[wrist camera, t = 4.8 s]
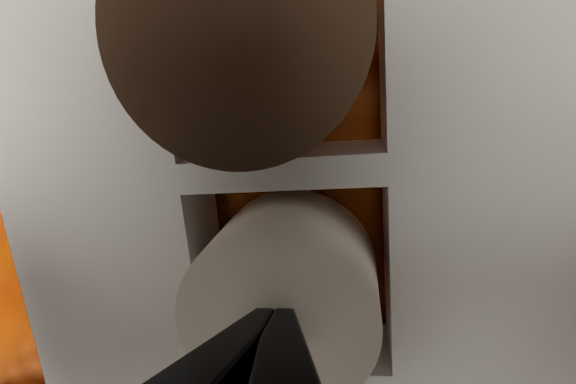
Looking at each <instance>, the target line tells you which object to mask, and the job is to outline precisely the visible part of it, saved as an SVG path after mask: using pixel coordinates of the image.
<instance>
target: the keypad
mask: <svg viewBox="0 0 576 384" xmlns="http://www.w3.org/2000/svg"><path fill="white" fill-rule="evenodd" d="M95 2H96V0H0V212H1V216H2V220H3V224H4V227H5V231H6V235H7V239H8V242H9V246H10V250H11V254H12V258H13V261H14V265H15V269H16V273H17V277H18V280H19V284H20V288H21V292H22V296H23V299H24V303H25V307H26V311H27V314H28V318H29V322H30V326H31V330H32V333H33V337H34V341H35V345H36V349H37V352H38V356H39V360H40V364H41V368H42V371H43V375H44V379H45V383H46V384H142V383H143V382H145V381H147V380H148V379H150V378H151V377H153V376H154V375H156V374H157V373H159V372H160V371H162V370H163V369H165V368H166V367H168V366H169V365H171V364H172V363H174V362H175V361H177V360H178V359H180V358H181V357H183V356H184V355H186V353H185V351H184V350H183V347H182V345H181V342H180V339H179V336H178V332H177V327H176V319H175V303H176V297H177V292H178V289H179V286H180V283H181V280H182V278H183V276H184V274H185V273H186V271H187V269H188V268H189V266H190V265H191V264H192V262H193V261H194V259H195V258H196V257H197V256H198V255H199V254H200V253H201V252H202V251H203V250H204V248H205V247H206V246H207V245H208V244H209V243H210V242H211V241H212V240H213V238H214V237H215V236H216V235H217V234H218V233H219V232H220V230H219V222H218V214H217V206H216V199H215V194H219V193H244V192H269V191H293V190H318V189H343V188H368V187H382V189H383V227H384V265H385V304H386V324H382V325H383V339H382V346H381V351H380V355H379V358H378V361H377V363H376V366H375V368H374V370H373V371H372V373H371V375H370V377H369V378H368V379H367V380H366V382H365V383H364V384H576V0H378V36H379V74H380V112H381V139H365V140H348V141H332V142H320V143H319V144H318V145H316V146H315V147H314V148H312V149H311V150H310V151H308V152H306V153H305V154H303V155H301V156H299V157H298V158H296V159H294V160H291V161H289V162H286V163H284V164H281V165H279V166H276V167H272V168H268V169H264V170H258V171H249V172H226V171H219V170H213V169H208V168H205V167H201V166H198V165H195V164H192V163H190V162H188V161H185V160H183V159H181V158H179V157H177V156H175V155H173V154H172V153H170V152H168V151H167V150H165V149H163V148H162V147H161V146H160V145H158V144H157V143H156V142H154V141H153V140H152V139H150V138H149V137H148V136H147V135H146V134H145V133H144V132H143V131H142V130H141V129H140V128H139V127H138V126H137V125H136V123H135V122H134V121H133V120H132V119H131V117H130V116H129V115H128V114H127V112H126V111H125V109H124V108H123V106H122V105H121V103H120V102H119V100H118V98H117V97H116V95H115V93H114V91H113V89H112V87H111V85H110V83H109V80H108V78H107V75H106V72H105V69H104V67H103V64H102V60H101V56H100V52H99V48H98V43H97V35H96V27H95Z"/></svg>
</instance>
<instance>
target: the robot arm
mask: <svg viewBox="0 0 576 384" xmlns="http://www.w3.org/2000/svg"><path fill="white" fill-rule="evenodd" d="M142 384H321V381H320V378H319V375H318V373H317V370H316V367H315V365H314V362H313V359H312V356H311V354H310V351H309V348H308V346H307V343H306V340H305V337H304V335H303V332H302V329H301V327H300V324H299V321H298V318H297V316H296V313H295V310H294V309H292V308H277V309H275V310H274V309H273V308H256V309H254V310H253V311H251V312H250V313H248V314H247V315H245V316H244V317H242V318H241V319H239V320H238V321H236V322H234V323H233V324H231V325H230V326H228V327H227V328H225V329H224V330H222V331H221V332H219V333H218V334H216V335H215V336H213V337H212V338H210V339H209V340H207V341H206V342H204V343H203V344H201V345H200V346H198V347H197V348H195V349H194V350H192V351H191V352H189V353H188V354H186V355H184V356H183V357H181V358H180V359H178V360H177V361H175V362H174V363H172V364H171V365H169V366H168V367H166V368H165V369H163V370H162V371H160V372H159V373H157V374H156V375H154V376H153V377H151V378H150V379H148V380H147V381H145V382H143V383H142Z"/></svg>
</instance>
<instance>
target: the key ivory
mask: <svg viewBox="0 0 576 384" xmlns="http://www.w3.org/2000/svg"><path fill="white" fill-rule="evenodd" d="M256 308H273V309H274V310H275V309H277V308H292V309H294V310H295V313H296V316H297V318H298V321H299V324H300V327H301V329H302V332H303V335H304V337H305V340H306V343H307V346H308V348H309V351H310V354H311V356H312V359H313V362H314V365H315V367H316V370H317V373H318V375H319V378H320V381H321V384H364V383H365V382H366V380H367V379H368V378H369V377H370V375H371V373H372V371H373V370H374V368H375V366H376V363H377V361H378V358H379V355H380V351H381V346H382V339H383V325H382V316H381V307H380V297H379V288H378V279H377V270H376V261H375V254H374V250H373V246H372V243H371V240H370V238H369V236H368V234H367V232H366V230H365V229H364V227H363V225H362V224H361V223H360V222H359V220H358V219H357V218H356V217H355V216H354V215H353V214H352V213H351V212H350V211H349V210H348V209H347V208H345V207H344V206H343V205H341V204H340V203H338V202H337V201H335V200H333V199H331V198H329V197H327V196H324V195H322V194H319V193H316V192H312V191H307V190H293V191H274V192H270V193H267V194H264V195H261V196H259V197H257V198H255V199H253V200H252V201H250V202H249V203H247V204H246V205H245V206H243V207H242V208H241V209H240V210H239V211H238V212H237V213H236V214H235V215H234V216H233V217H232V218H231V220H230V221H229V222H228V223H227V224H226V225H225V226H224V227H223V228H222V230H221V231H220V232H219V233H218V234H217V235H216V236H215V237H214V238H213V240H212V241H211V242H210V243H209V244H208V245H207V246H206V247H205V248H204V250H203V251H202V252H201V253H200V254H199V255H198V256H197V257H196V258H195V259H194V261H193V262H192V264H191V265H190V266H189V268H188V269H187V271H186V273H185V274H184V276H183V278H182V280H181V283H180V286H179V289H178V292H177V297H176V303H175V319H176V327H177V332H178V336H179V339H180V342H181V345H182V347H183V350H184V351H185V353H186V354H188V353H189V352H191V351H192V350H194V349H195V348H197V347H198V346H200V345H201V344H203V343H204V342H206V341H207V340H209V339H210V338H212V337H213V336H215V335H216V334H218V333H219V332H221V331H222V330H224V329H225V328H227V327H228V326H230V325H231V324H233V323H234V322H236V321H238V320H239V319H241V318H242V317H244V316H245V315H247V314H248V313H250V312H251V311H253V310H254V309H256Z"/></svg>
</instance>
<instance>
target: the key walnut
mask: <svg viewBox="0 0 576 384" xmlns="http://www.w3.org/2000/svg"><path fill="white" fill-rule="evenodd" d="M95 27H96V35H97V43H98V48H99V52H100V56H101V60H102V64H103V67H104V69H105V72H106V75H107V78H108V80H109V83H110V85H111V87H112V89H113V91H114V93H115V95H116V97H117V98H118V100H119V102H120V103H121V105H122V106H123V108H124V109H125V111H126V112H127V114H128V115H129V116H130V117H131V119H132V120H133V121H134V122H135V123H136V125H137V126H138V127H139V128H140V129H141V130H142V131H143V132H144V133H145V134H146V135H147V136H148V137H149V138H150V139H152V140H153V141H154V142H156V143H157V144H158V145H160V146H161V147H162V148H163V149H165V150H167V151H168V152H170V153H172V154H173V155H175V156H177V157H179V158H181V159H183V160H185V161H188V162H190V163H192V164H195V165H198V166H201V167H205V168H208V169H213V170H219V171H226V172H249V171H258V170H264V169H268V168H272V167H276V166H279V165H281V164H284V163H286V162H289V161H291V160H294V159H296V158H298V157H299V156H301V155H303V154H305V153H306V152H308V151H310V150H311V149H312V148H314V147H315V146H316V145H318V144H319V143H320V142H322V141H323V140H324V139H325V138H326V137H327V136H328V135H329V134H330V133H331V132H332V131H333V130H334V129H335V128H336V127H338V125H339V124H340V123H341V121H342V120H343V119H344V118H345V116H346V115H347V114H348V112H349V111H350V109H351V108H352V106H353V104H354V103H355V101H356V99H357V98H358V96H359V94H360V92H361V89H362V87H363V85H364V83H365V80H366V78H367V76H368V72H369V69H370V65H371V62H372V58H373V54H374V48H375V42H376V35H377V5H376V0H96V2H95Z"/></svg>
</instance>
